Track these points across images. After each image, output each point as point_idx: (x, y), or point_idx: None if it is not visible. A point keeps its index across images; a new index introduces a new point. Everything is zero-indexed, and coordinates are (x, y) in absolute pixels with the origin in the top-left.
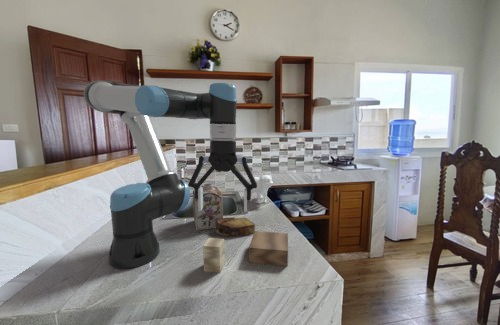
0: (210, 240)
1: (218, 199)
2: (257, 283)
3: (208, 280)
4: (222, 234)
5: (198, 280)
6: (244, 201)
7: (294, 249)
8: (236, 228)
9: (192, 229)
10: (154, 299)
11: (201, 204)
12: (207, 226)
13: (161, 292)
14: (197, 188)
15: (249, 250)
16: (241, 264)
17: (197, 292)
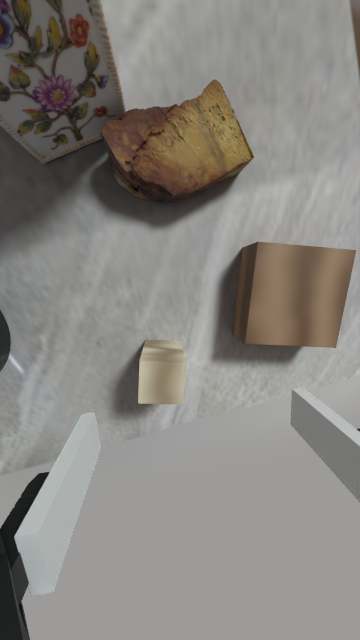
0: (148, 373)
1: (73, 2)
2: (249, 393)
3: None
4: (143, 198)
5: None
6: (326, 462)
7: None
8: (191, 192)
9: (24, 155)
10: None
11: (90, 459)
12: (74, 142)
13: None
14: (19, 607)
15: (243, 341)
16: (216, 342)
17: (152, 427)
